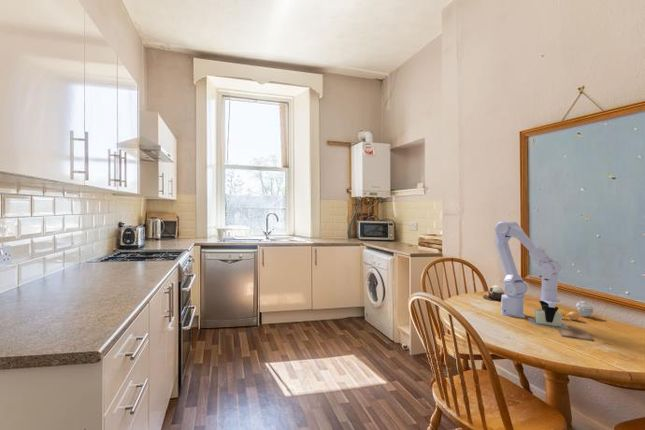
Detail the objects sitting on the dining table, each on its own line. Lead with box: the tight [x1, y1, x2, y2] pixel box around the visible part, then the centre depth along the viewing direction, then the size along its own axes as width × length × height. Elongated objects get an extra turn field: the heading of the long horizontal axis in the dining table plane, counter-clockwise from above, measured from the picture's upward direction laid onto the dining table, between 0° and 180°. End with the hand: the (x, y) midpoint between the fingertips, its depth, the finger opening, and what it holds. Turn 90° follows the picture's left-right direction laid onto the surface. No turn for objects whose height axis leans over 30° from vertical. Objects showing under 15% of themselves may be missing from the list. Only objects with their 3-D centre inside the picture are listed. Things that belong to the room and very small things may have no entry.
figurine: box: [559, 311, 580, 321], centre depth 156 cm, size 8×6×12 cm
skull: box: [482, 285, 505, 302], centre depth 190 cm, size 12×10×10 cm
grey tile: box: [527, 317, 570, 329], centre depth 149 cm, size 14×10×1 cm
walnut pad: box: [555, 327, 594, 342], centre depth 136 cm, size 10×10×1 cm
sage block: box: [534, 308, 563, 327], centre depth 149 cm, size 9×6×5 cm, turn 66°
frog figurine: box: [575, 300, 594, 318], centre depth 161 cm, size 6×7×7 cm
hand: (547, 320), depth 149 cm, fingers closed on sage block, 5 cm apart
